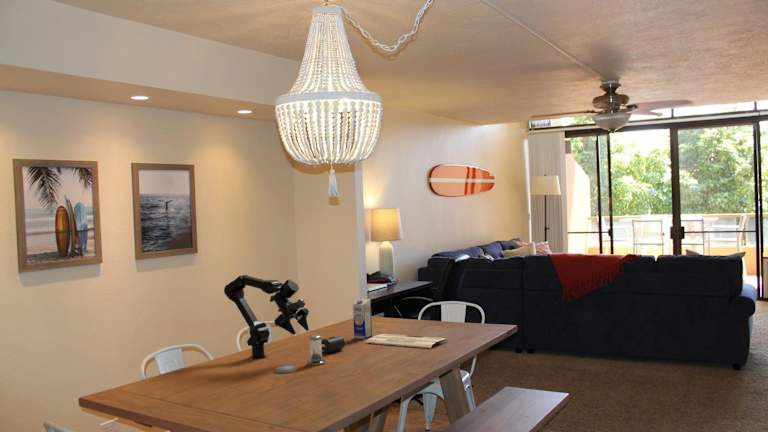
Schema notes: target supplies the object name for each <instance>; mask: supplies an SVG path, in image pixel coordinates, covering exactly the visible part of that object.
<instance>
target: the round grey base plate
mask: <svg viewBox="0 0 768 432" xmlns="http://www.w3.org/2000/svg"><path fill="white" fill-rule="evenodd" d="M325 364H326V360H325V359H322V357H320V358H311V357H310V360H308V361H307V364H306V365H308V366H316V367H317V366H323V365H325Z"/></svg>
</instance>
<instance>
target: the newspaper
mask: <svg viewBox="0 0 768 432" xmlns="http://www.w3.org/2000/svg"><path fill="white" fill-rule="evenodd" d="M436 342H438V343H436ZM448 342H449V338H445V337H433V336H432V337H431V336H419V335H405V334H404V335H403V334H392V333H391V334H390V333H381V334H377V335H374V336H372V337H371V338H368V339H366V341H365V343H366V344H369V343H371V345H381V344H382V346H384V345H385V346H393V345H394V346H395V347H405V346H406V347H408V348H416V349H417V348H418V349H419V348H420V349H428V348H429V349H430V350H432V346H433V345H434V344H446V343H448Z"/></svg>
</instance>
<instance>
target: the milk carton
mask: <svg viewBox="0 0 768 432" xmlns="http://www.w3.org/2000/svg"><path fill="white" fill-rule="evenodd" d="M371 302H372V301H371V299H370V298H367V299H366V298H359V299H357V300H356V301H354V302H353V303H352V318H353V319H352V320H353V334H354V335H353V336H354V337H353V339H354V340H355V339H356V340H363V339H366V340H368V339H369V338H370V337H373V328H372V327H373V325H372V308H371V307H372V305H371V304H372V303H371Z"/></svg>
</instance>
